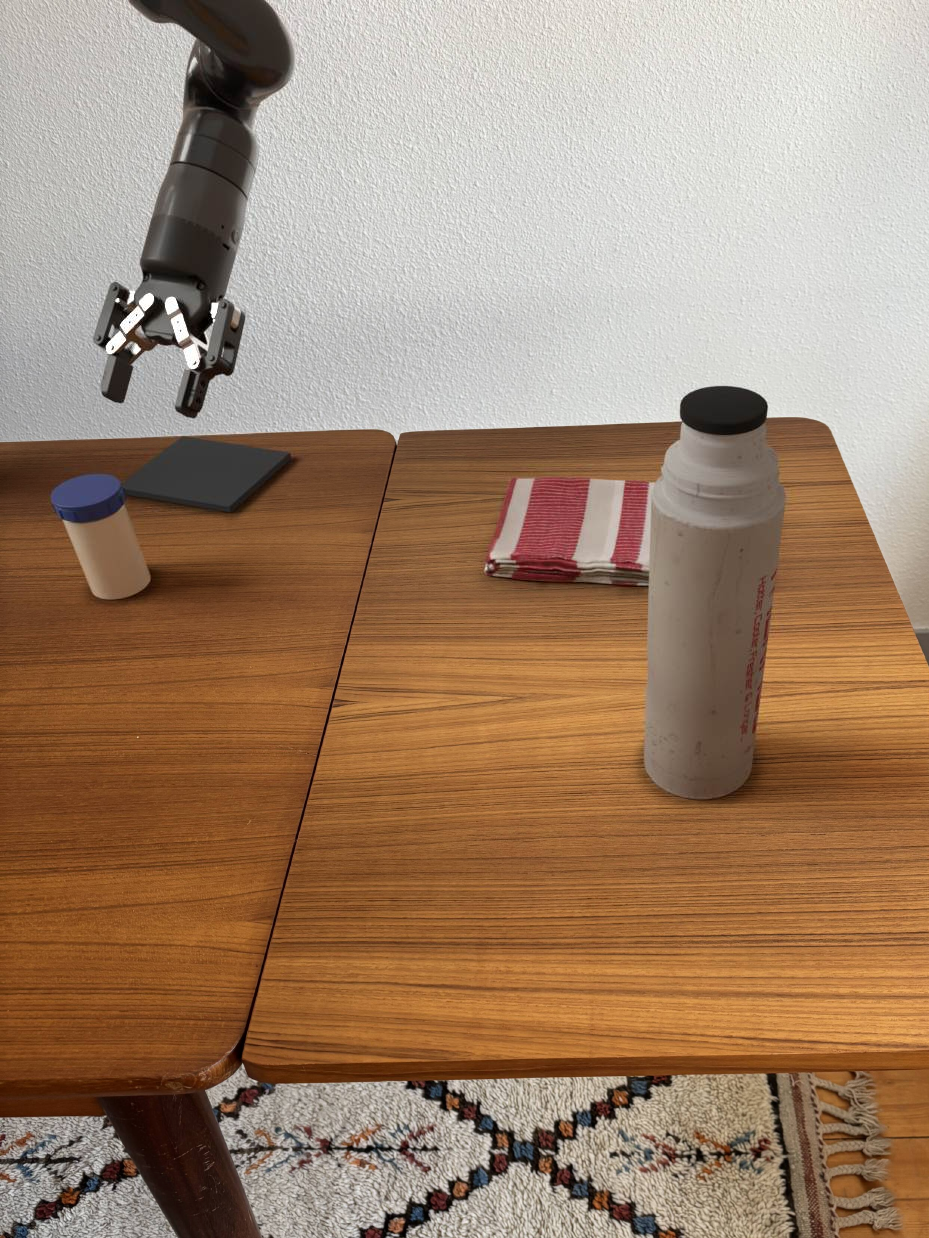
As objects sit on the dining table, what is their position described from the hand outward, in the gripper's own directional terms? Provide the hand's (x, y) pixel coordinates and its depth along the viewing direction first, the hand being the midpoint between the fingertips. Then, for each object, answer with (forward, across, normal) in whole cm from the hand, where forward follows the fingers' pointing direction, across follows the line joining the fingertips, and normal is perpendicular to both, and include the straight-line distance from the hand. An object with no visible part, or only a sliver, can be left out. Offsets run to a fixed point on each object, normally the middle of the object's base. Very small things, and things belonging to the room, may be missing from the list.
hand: (148, 407), depth 95 cm
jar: (+16, 0, +2) cm, 16 cm away
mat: (+2, -6, +16) cm, 17 cm away
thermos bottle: (+18, +57, +1) cm, 60 cm away
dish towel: (-1, +40, +20) cm, 45 cm away
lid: (+9, 0, -4) cm, 10 cm away
